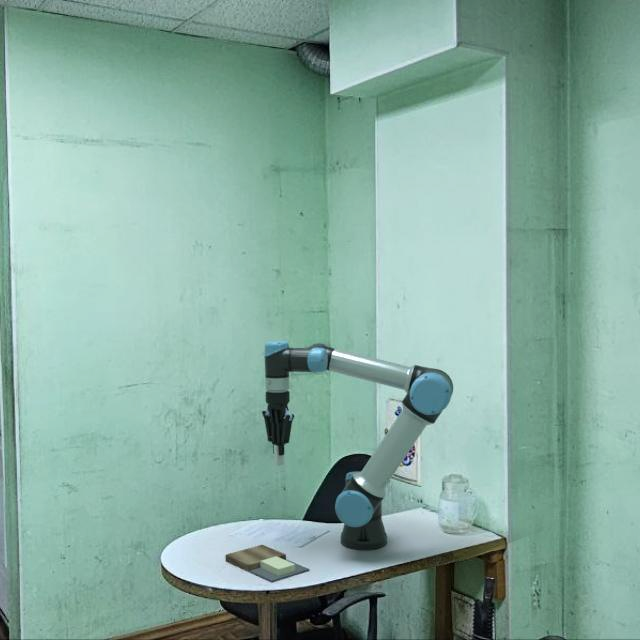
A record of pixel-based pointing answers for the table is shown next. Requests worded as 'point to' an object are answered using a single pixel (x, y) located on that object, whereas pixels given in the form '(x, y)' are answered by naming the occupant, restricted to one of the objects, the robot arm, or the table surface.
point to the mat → (274, 577)
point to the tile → (277, 566)
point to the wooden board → (252, 557)
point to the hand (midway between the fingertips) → (278, 464)
